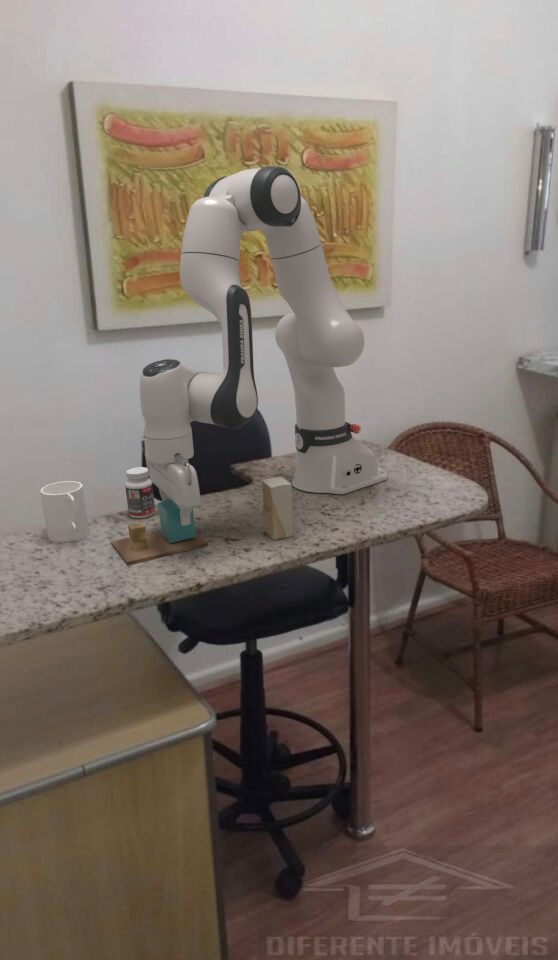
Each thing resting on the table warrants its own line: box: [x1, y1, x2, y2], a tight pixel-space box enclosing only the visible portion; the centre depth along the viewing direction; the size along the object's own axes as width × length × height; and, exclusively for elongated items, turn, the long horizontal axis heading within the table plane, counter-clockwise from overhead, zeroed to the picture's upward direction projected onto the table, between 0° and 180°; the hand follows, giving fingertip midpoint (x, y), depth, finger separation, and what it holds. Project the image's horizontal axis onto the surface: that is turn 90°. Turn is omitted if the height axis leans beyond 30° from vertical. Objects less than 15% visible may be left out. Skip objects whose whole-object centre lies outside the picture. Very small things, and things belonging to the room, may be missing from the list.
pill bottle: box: [124, 466, 156, 519], centre depth 160 cm, size 6×6×10 cm
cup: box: [40, 480, 90, 543], centre depth 150 cm, size 8×12×10 cm
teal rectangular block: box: [157, 500, 196, 543], centre depth 145 cm, size 5×5×7 cm
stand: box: [111, 521, 209, 566], centre depth 144 cm, size 16×11×7 cm
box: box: [261, 476, 294, 541], centre depth 145 cm, size 5×4×11 cm
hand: (176, 516), depth 145 cm, fingers open, 8 cm apart
